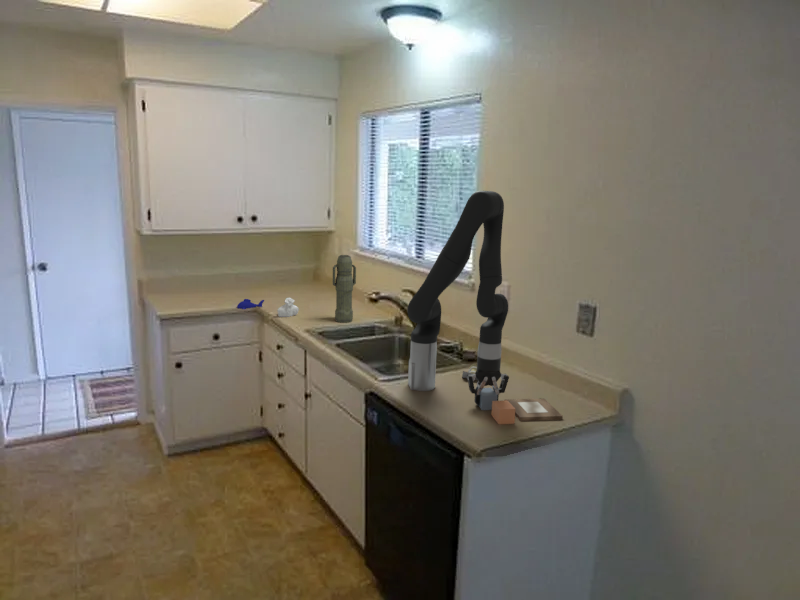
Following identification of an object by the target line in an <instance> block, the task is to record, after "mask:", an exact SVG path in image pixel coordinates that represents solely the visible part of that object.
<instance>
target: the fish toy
mask: <svg viewBox="0 0 800 600" xmlns="http://www.w3.org/2000/svg"><path fill="white" fill-rule="evenodd" d="M251 301H252V300H251V299H249V298H244V299H243V300H242V301H240V302H239V303H238V304H237V305H236V309H238V310H239V309H242V310H247V309H253V308H256V307H258V308H262V307H263V304H264V302H265V299H261V300H259V301H260V302H258V304H256V303H253V302H251Z"/></svg>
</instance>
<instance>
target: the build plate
mask: <svg viewBox="0 0 800 600" xmlns="http://www.w3.org/2000/svg"><path fill="white" fill-rule="evenodd" d="M506 400H508V401H509V403H510V404H511V405H512V406H513V407H514V408H515V418H517V420H518V421H519V422H522V421H524V422H525V421H526V422H527V421H528V422H529V421H555V420H556V421H557V420H559V421H561V420H563V417H564V416H563V415H562V413H560V412H559V411H558V409H556V408H555V407H554V406H553V405H552V404H551V403H550V402H549V401H548V400H547V399H545V398H517V399H516V398H515V399H514V398H513V399H512V398H511V399H510V398H508V399H504V400H503V401H506Z"/></svg>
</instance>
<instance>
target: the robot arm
mask: <svg viewBox="0 0 800 600" xmlns="http://www.w3.org/2000/svg"><path fill="white" fill-rule="evenodd" d="M467 199H468V200H467V201H466V203H465V204H464V208H463V209H462V212H461V214H460V216H459V219H458V222H457V223H456V225H455V227H454V229H453V230H452V232H451V234H450V236H449V238H448V240H447V241H446V243H445V245H444V246H443V248H442V249H441V251H440V252H439V254H438V256H437V258H436V260H435V262H434V264H433V266H432V267H431V269H430V271H429V272H428V274H427V276H426V278H425V279H424V281H423V283H422V284H421V286H420V287H419V288H418V290H417V291H416V292H415V293H414V295H413V296H412V298H411V299H410V301H409V303H408V305H407V310H406V311H407V316H408V317H407V318H409V320H410V321H411V322H413V323H415V324H416V326H415V328H414V329H413V330H412V331H411V333H410V349H409V350H410V351H409V353H410V355H409V359H408V374H407V375H408V376H407V377H408V378H407V380H408V381H407V385H408V386H409V389H410V391H418V392H429V391H432V390H434V389H435V388H436V374H437V372H436V371H437V352H438V351H437V350H438V348H437V346H438V344H437V343H438V336H439V334H440V331H441V322H442V321H441V320H442V305H441V301H440V300H439V297H440V296H441V294H442V293H443V292H445V290H446V289H447V288H448V287H450V286H451V285H452V283H454V281H456V279H458V277H459V276H460V275H461V273H462V272H463V270H464V269H465V267H466V265H467V264H468V262H469V260H470V257H471V253H472V246H473V241H474V238H475V236H476V233H477V232H478V230H479V229H480V228H481V226H482V225H483V241H482V245H481V249H480V251H479V252H480V253H479V257H478V272H479V285H478V289H477V295H476V302H475V303H476V305H475V306H476V310H477V312H478V314H479V315H480V316H481V317H483V318H486V319H487V320H486V321H485V322H483V323H482V324H481V325H480V327H479V328H480V329H479V337H478V338H479V340H478V346H477V347H478V348H477V353H476V354H477V358H476V359H477V360H476V364H477V371H476V373H475V374H472V375H470V374H468V375H467V378H466V379H467V383H468V389H469V391H470V393H471V394H474V403H475V405H476V406H477V407H479V406H480V393H481V391H482V389H483V388H485V387H486V386H491V388H492V389H493V391H494V392H495V393H496V394H497V395H498V397H497V401H499V395H501V394H504V393H506V389H507V385H508V382H509V379H510V376H509V375H508V374H507V373H501V363H502V337H503V329H504V326H505V322H506V318H507V316H508V313H509V302H508V298H507V297H506V296H505V295H504V294H502V293H496V290H497V288H498V287H499V286H501V285H502V282H503V276H502V275H503V274H502V273H503V272H502V249H501V248H502V234H503V224H504V212H505V211H504V209H505V203H504V199H503V197H502V196H501V194H500V193H498V192H496V191H492V190H477V191H474V192H473V193H472V194H471V195H470V196H469V197H468V198H467ZM475 378H477V379H478V380H477V383H476V386H475V385H474V382H475V381H476V380H475ZM499 380H500V383H499V386H498V381H499Z"/></svg>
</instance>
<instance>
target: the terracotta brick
mask: <svg viewBox="0 0 800 600" xmlns="http://www.w3.org/2000/svg"><path fill="white" fill-rule="evenodd" d="M491 416H492V418H493V419H494V421H496V423H497V424H498V425H514V424H515V420H516V419H515V418H516V416H515V408H514V407H513V406H512V405H511V404H510V403H509V401H508V400H506V401H504V400H498V401H492V410H491Z"/></svg>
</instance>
